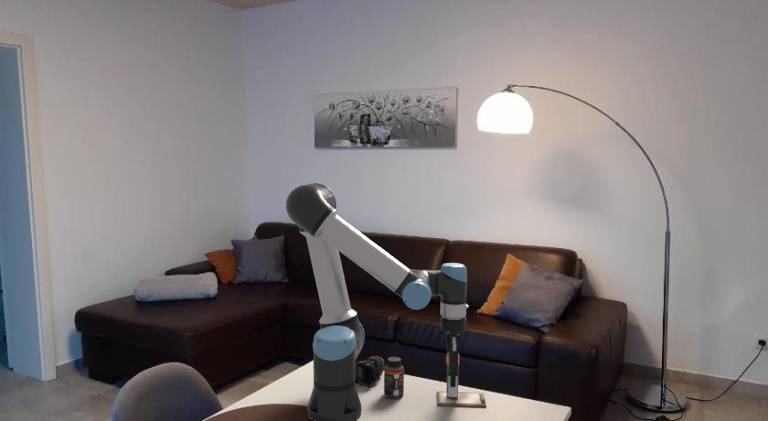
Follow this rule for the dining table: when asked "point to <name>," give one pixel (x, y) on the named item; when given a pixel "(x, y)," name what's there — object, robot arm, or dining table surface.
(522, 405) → the dining table surface
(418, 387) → the dining table surface
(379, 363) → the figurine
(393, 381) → the supplement bottle
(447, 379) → the marker
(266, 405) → the dining table surface
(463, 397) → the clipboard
